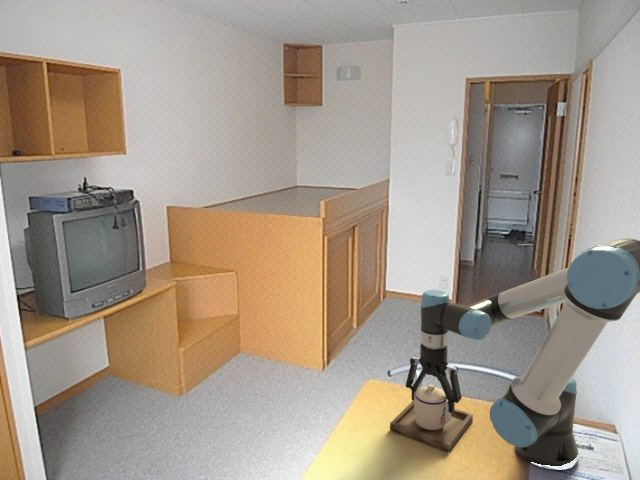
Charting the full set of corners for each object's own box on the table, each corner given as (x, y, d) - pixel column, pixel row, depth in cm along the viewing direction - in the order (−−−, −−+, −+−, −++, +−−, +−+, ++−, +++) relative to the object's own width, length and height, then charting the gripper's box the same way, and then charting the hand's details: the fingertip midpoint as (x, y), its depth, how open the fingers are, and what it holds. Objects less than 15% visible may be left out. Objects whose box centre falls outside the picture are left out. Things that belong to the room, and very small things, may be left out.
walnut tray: (472, 421, 144) (472, 414, 143) (449, 453, 130) (449, 444, 129) (417, 403, 154) (417, 396, 154) (390, 430, 140) (390, 423, 140)
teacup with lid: (447, 432, 135) (449, 394, 133) (414, 430, 137) (415, 392, 134) (443, 409, 147) (444, 374, 145) (413, 407, 148) (414, 372, 146)
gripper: (393, 340, 140) (393, 410, 145) (466, 358, 127) (463, 434, 132) (405, 331, 146) (404, 399, 151) (476, 348, 133) (473, 421, 138)
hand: (432, 415), depth 141 cm, fingers closed on teacup with lid, 9 cm apart
